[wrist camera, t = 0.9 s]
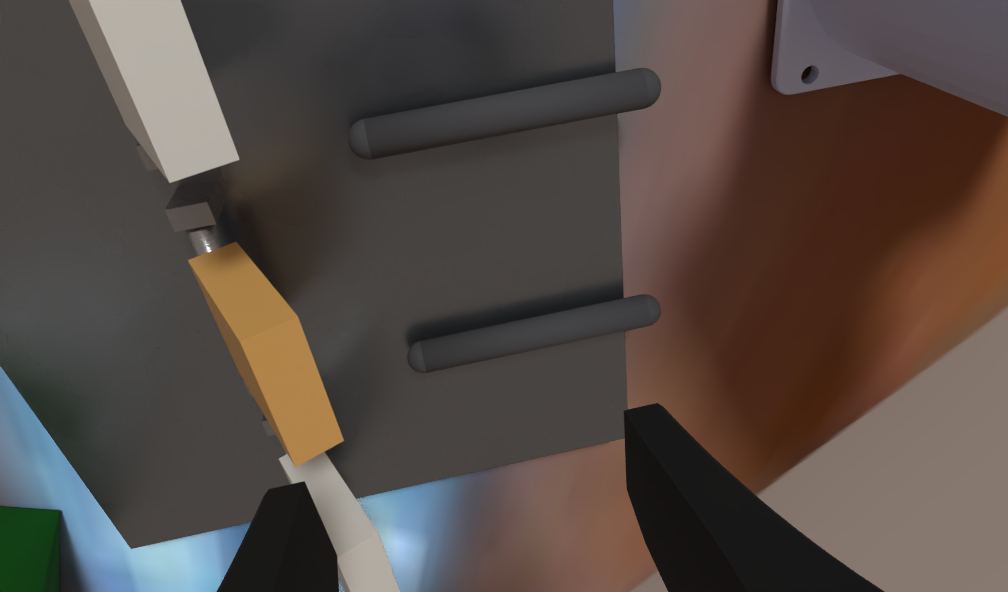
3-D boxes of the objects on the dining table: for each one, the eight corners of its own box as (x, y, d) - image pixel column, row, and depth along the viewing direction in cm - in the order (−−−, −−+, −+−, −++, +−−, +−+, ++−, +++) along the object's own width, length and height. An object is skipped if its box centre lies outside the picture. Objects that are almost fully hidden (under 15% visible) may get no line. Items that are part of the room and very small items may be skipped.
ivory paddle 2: (315, 438, 21) (377, 532, 18) (345, 513, 23) (407, 609, 20) (278, 458, 20) (335, 558, 17) (312, 533, 22) (369, 635, 19)
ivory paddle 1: (108, -75, 13) (153, -73, 10) (182, 108, 15) (239, 160, 12) (39, -63, 12) (63, -56, 9) (125, 125, 14) (169, 183, 11)
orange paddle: (236, 241, 17) (297, 316, 14) (281, 353, 19) (343, 440, 16) (187, 259, 16) (239, 342, 13) (239, 372, 18) (295, 467, 15)
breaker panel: (585, -219, 15) (625, -232, 13) (616, 419, 26) (641, 474, 24) (-260, -91, 14) (-388, -80, 12) (148, 522, 25) (125, 591, 23)
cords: (652, 60, 17) (667, 70, 17) (654, 311, 22) (665, 329, 21) (344, 116, 17) (343, 130, 16) (410, 362, 21) (411, 383, 20)
